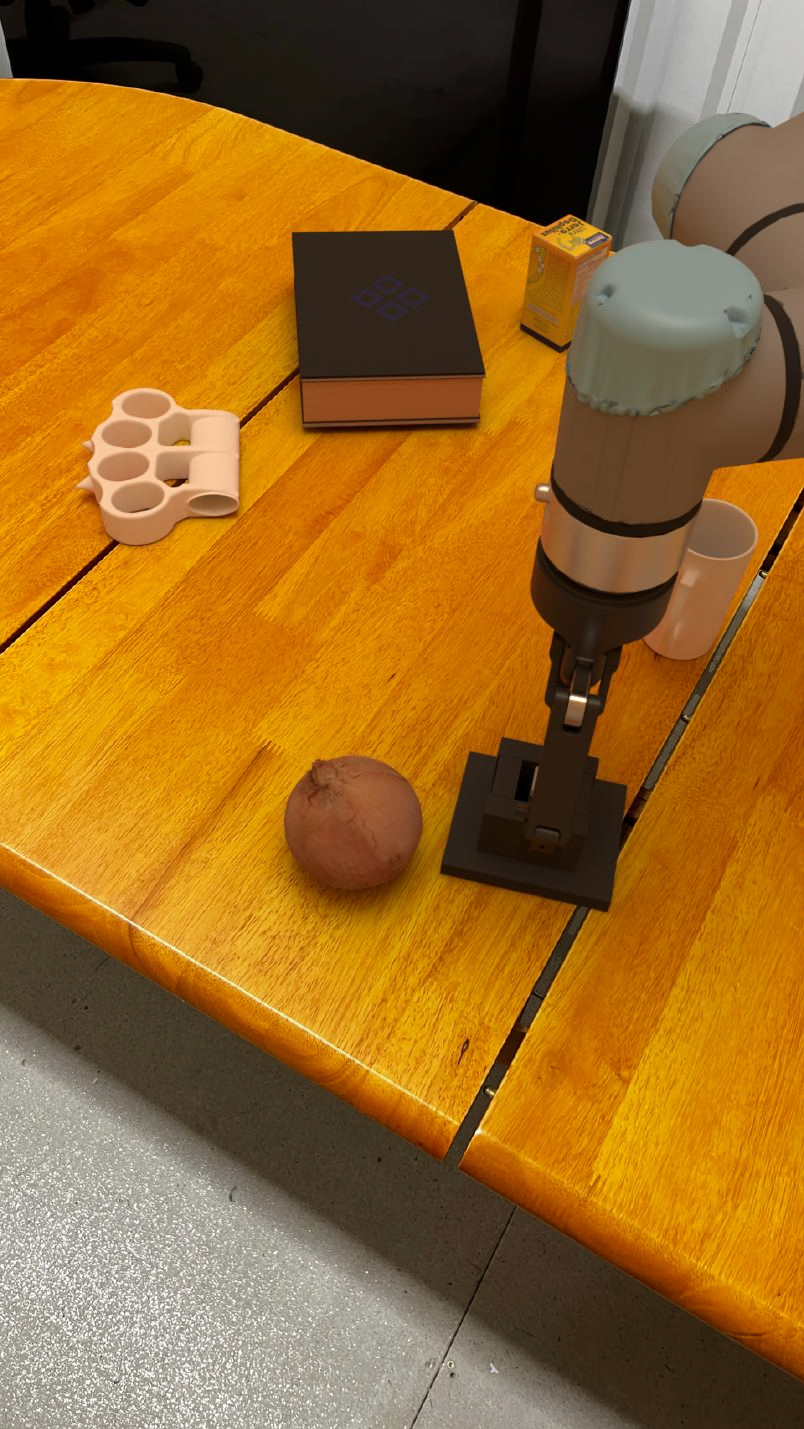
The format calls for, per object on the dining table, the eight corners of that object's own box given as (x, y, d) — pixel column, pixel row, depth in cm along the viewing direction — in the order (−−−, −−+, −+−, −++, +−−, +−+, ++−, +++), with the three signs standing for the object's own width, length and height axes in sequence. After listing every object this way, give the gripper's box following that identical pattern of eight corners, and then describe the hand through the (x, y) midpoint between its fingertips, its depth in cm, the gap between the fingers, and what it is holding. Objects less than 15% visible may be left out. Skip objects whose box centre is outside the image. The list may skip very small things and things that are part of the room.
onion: (303, 864, 81) (240, 775, 75) (408, 794, 83) (354, 700, 76) (352, 945, 74) (286, 853, 68) (466, 866, 75) (412, 769, 69)
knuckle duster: (240, 543, 97) (71, 548, 96) (240, 414, 108) (89, 417, 107) (237, 514, 95) (63, 519, 93) (238, 385, 105) (82, 388, 104)
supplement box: (553, 308, 121) (569, 212, 112) (595, 332, 119) (614, 236, 110) (517, 329, 119) (530, 232, 110) (559, 354, 116) (577, 257, 107)
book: (302, 435, 106) (299, 376, 101) (293, 288, 121) (291, 231, 116) (479, 429, 108) (486, 372, 103) (449, 286, 123) (453, 229, 118)
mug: (653, 592, 96) (687, 486, 86) (727, 622, 94) (769, 517, 84) (609, 669, 90) (640, 566, 81) (686, 702, 88) (727, 600, 79)
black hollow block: (587, 796, 81) (599, 757, 77) (574, 873, 77) (586, 836, 73) (494, 775, 82) (501, 735, 78) (476, 850, 78) (483, 812, 74)
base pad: (623, 796, 83) (643, 741, 77) (607, 912, 77) (627, 862, 71) (467, 761, 84) (476, 706, 78) (439, 873, 78) (446, 822, 72)
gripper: (572, 392, 65) (529, 629, 82) (494, 718, 50) (461, 925, 67) (699, 414, 64) (629, 649, 81) (658, 752, 50) (583, 953, 66)
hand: (553, 774), depth 74 cm, fingers open, 13 cm apart
